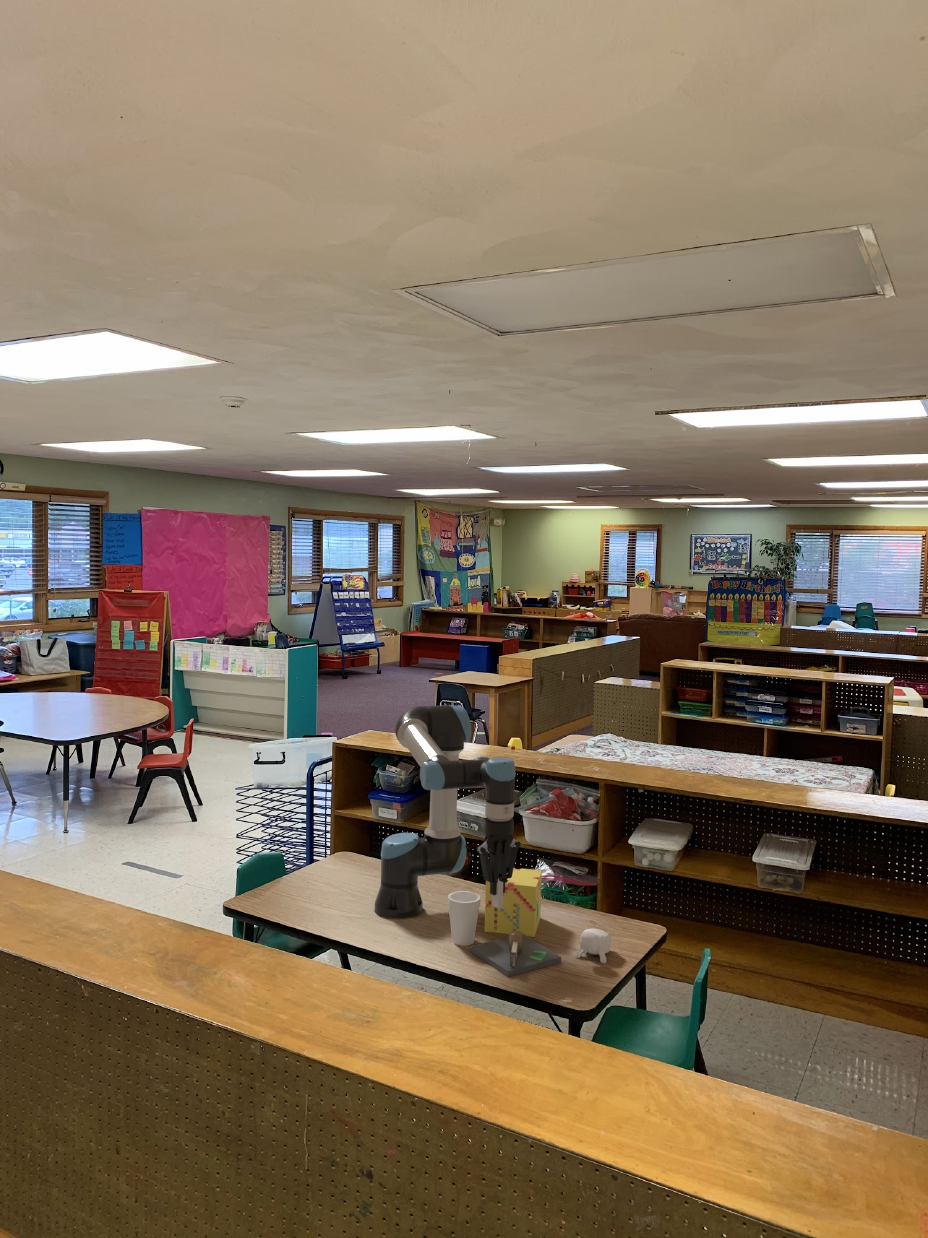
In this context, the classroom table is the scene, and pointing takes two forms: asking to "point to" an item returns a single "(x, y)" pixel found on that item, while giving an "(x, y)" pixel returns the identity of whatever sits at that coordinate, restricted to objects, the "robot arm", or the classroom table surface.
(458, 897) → the foam cup
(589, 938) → the white footed figurine
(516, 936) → the tuning lever
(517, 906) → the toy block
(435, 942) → the classroom table surface
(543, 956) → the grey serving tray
